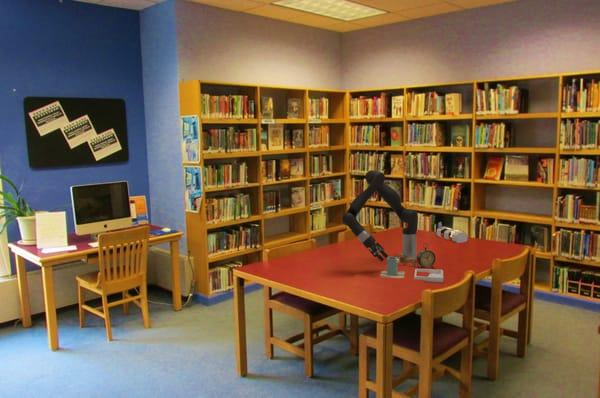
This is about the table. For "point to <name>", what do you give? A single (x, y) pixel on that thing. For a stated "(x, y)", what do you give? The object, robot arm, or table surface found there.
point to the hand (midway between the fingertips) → (385, 258)
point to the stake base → (399, 275)
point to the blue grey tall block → (392, 266)
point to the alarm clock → (426, 258)
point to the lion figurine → (407, 260)
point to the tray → (430, 275)
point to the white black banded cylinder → (452, 234)
